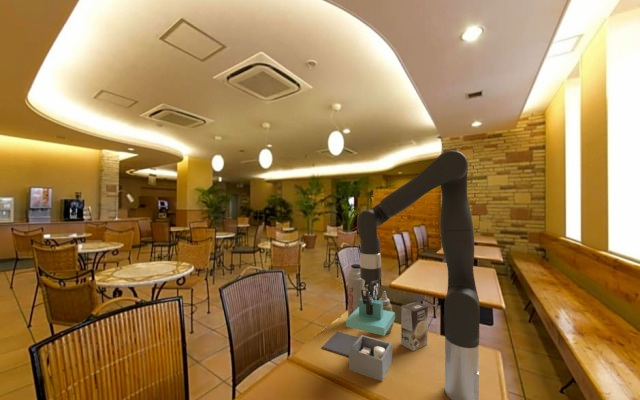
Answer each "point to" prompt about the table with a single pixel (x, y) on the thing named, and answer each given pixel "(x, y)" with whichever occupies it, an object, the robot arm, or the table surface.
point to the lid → (371, 318)
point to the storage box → (370, 357)
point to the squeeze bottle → (386, 307)
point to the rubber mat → (340, 343)
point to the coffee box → (414, 325)
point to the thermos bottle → (354, 288)
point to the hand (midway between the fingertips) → (371, 312)
